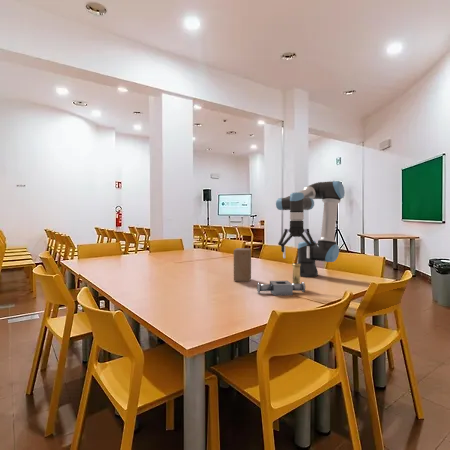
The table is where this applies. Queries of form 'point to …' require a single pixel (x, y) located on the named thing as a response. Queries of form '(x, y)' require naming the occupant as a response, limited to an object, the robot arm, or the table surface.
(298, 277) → the valve handle
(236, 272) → the wooden block
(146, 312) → the table surface
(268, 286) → the valve body
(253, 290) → the table surface
